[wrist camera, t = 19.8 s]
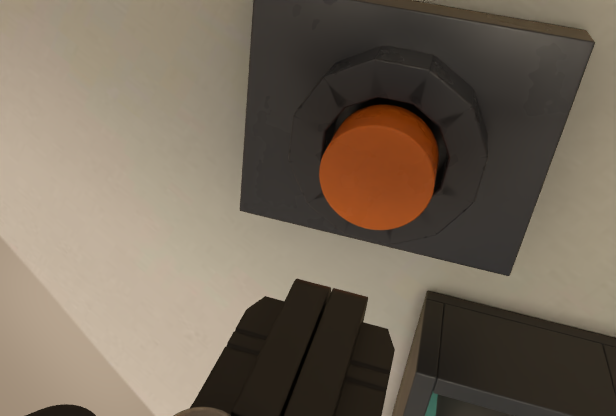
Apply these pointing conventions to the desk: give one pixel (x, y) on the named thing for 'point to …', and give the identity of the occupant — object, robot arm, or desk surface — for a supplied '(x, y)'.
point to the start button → (380, 167)
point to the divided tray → (505, 363)
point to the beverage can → (462, 408)
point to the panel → (421, 101)
